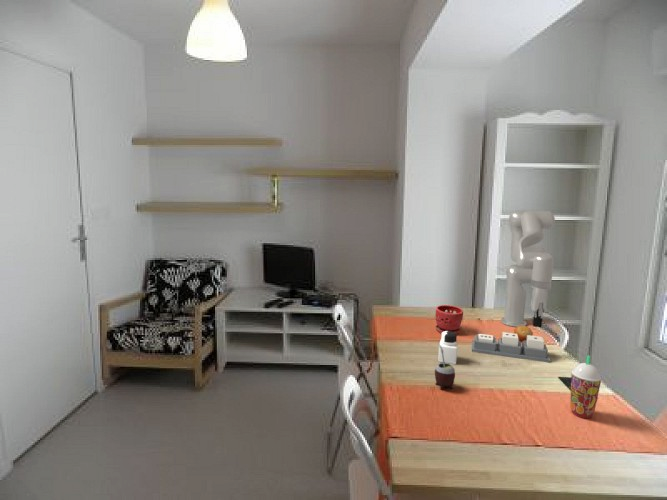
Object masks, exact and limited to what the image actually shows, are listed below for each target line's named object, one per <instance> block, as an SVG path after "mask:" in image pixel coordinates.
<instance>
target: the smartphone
mask: <svg viewBox="0 0 667 500" xmlns="http://www.w3.org/2000/svg"><path fill="white" fill-rule="evenodd" d="M557 379H558V380H559V381H560V382H561V383H562V384H564V386H565V387H566V388H567V389H568V390H569V391H570V392H571V376H570V377H569V376H568V377H567V376H558V377H557Z"/></svg>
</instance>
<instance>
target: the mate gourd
mask: <svg viewBox="0 0 667 500" xmlns="http://www.w3.org/2000/svg"><path fill="white" fill-rule="evenodd" d="M437 344H438V347H439V346H440V348H441V353H442V359H443V362H439V363H438V364H437V366H436V367H435V369H434V378H435V383H434V384H435V386H438V387H440V388H439V389H440V390H441V391H443V390H445V389H449V390H453V386H454V383H455V378H456V372H455V368H454V366H452V364H450V363H445V362H444V355H443V350H442V347H441V345H440V341H437Z"/></svg>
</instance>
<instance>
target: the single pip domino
mask: <svg viewBox="0 0 667 500" xmlns="http://www.w3.org/2000/svg"><path fill="white" fill-rule="evenodd" d="M544 344H545V340H544V338H543V336H538V335H532V336H531V335H527V341H526V345H527V348H535V349H542V350H543V349H544Z"/></svg>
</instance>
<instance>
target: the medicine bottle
mask: <svg viewBox="0 0 667 500" xmlns="http://www.w3.org/2000/svg"><path fill="white" fill-rule="evenodd" d="M457 337H458V336H457V334H456V333H454V332H452V331H444V332H442V333H441V339H440V341H439V343H440V345H441V347H442V350H443V355H444V362H445V363H447V364H450V365H456V364H457V359H458V348H459V347H458V345H459V342H458V341H457ZM437 357H438V358H437V359H438V360H437V362H439V363H443V359H442V353H441V348H440V346H439V345H438V356H437Z"/></svg>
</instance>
